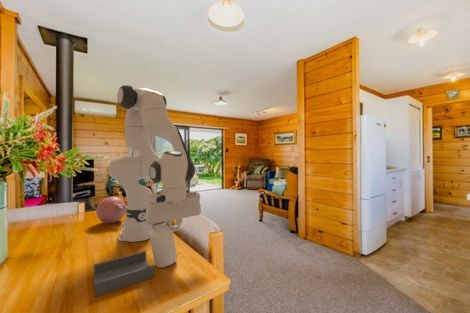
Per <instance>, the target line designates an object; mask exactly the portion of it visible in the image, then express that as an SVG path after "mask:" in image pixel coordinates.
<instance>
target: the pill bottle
mask: <svg viewBox="0 0 470 313" xmlns="http://www.w3.org/2000/svg"><path fill="white" fill-rule="evenodd" d="M151 226H152V232H151V233H150V236H149V237H150V239H149V242H150V247H151V252H152V257H153V261H154V265H155V267H157V268H165V267H169V266H171V265H173V264H174V263H175V262H176V261H177V260H178V254H177V253H178V252H177V247H176V242H175V239H174V232H172V229H171V227H170V226H168V222H167V221H166V222H161V223H156V224H152V225H151Z"/></svg>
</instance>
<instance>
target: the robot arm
mask: <svg viewBox="0 0 470 313" xmlns="http://www.w3.org/2000/svg"><path fill="white" fill-rule="evenodd" d="M116 98H117V99H116V100H117V104H118V105H119V106H120V107H122V108H123V109H126V113H125V119H124V138H125V140H124V141H125V142H124V143H125V145H126V146H127V147H128V148H129V149H130V150H133V151H135V152H136V153H138V156H123V157H117V158H113V159H112V160H111V161H110V162H109V164H108V166H107V167H108V169H107V170H108V174H109V176H110V177H111V178H112V179H113V180H114V181H116V182H118V183H119V185H121V186H122V187H123V190H124V192H125V195H126V196H125V197H126V213H125V216H126V217H125V220H124V221H123V222H121V223H120V228H121V229H120V233H119V237H118V241H119V242H128V243H129V242H132V243H135V242H142V241H146V240H150V237H149V236H150V233H151V232H152V226H151V225H152V224H156V223H161V222H166V221H167V225H169V227H170V228H171V229H172V232H173V233H174V232H178V231H180V229H181V228H180V227H181V225H182V223H183V219H187V218H191V217H196V216H197V217H198V216H200V215H201V212H202V208H201V203H200V201H201V194H200V193H199V192H197V191H193V192H187V183H188V182H190V181H191V180H192V179H193V178H194V176H195V174H196V167H195V164H194V162H193V161H192V159H191V157H190V155H189V153H188V149H187V147H186V144H185V141H184V139H183V136H182V134H181V132H180V129H179V128H178V127H177V126H176V125H175V124H174V123H173V122H172V120H171V118H170V117H169V113H168V109H167V98H166V96H165V95H164V94H162V93H160V92H158V91H155V90H152V89H149V88H143V87H137V86H132V85H128V84H125V85H121V86H120V87H119V88H118V91H117V93H116ZM150 135H152V136H154V137H155V136H156V137H158V138H161V139H163V140H165V141H167V142H169V143H170V145H171V146H172V149H173V150H169V151H167V150H166V151H165V152H163V153H162V156H160V155H158V154H157V152H156V151H155V150H154V148H153V145H152V143H151V136H150ZM145 179H150V180H151V181H152V182H153V183H154V184H158V185H159V184H162V185H161V190H159V191H156V192H154V193H152V190H151V189H150V188H149V187H147V186H145V185H143V184H140V183H139V180H145ZM174 221H177V223H176V224H175V225H173V223H174Z"/></svg>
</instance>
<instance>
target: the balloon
mask: <svg viewBox="0 0 470 313" xmlns="http://www.w3.org/2000/svg"><path fill="white" fill-rule="evenodd" d="M126 209H127V203H126V202H125V200H124V199H123V198H120V197H118V196H108V197H105V198H103V199H102V200H100V202H98V204H97V206H96V209H95V211H96V212H95V214H96V217H97V218H98V219H99V221H101V222H102V223H105V224H115V223H118V222H119V221H121V220H122V219H123V217H124V216H126Z"/></svg>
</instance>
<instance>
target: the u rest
mask: <svg viewBox="0 0 470 313" xmlns="http://www.w3.org/2000/svg"><path fill="white" fill-rule="evenodd" d="M93 275H94V276H93V277H94V284H93V285H94V297H98V296H102V295H105V294H107V293H111V292H113V291H114V292H115V291H117V290H120V289H122V288H125V287H129V286H131V285H135V284H137V283H140V282H143V281H146V280H150V279H152V278H154V277H155V266H154V264H152V265H149V262H148V261H147V253H146V250H144V251H140V252H136V253H133V254H129V255H125V256H120V257H117V258H114V259H110V260H106V261H101V262H98V263H94V264H93Z"/></svg>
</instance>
